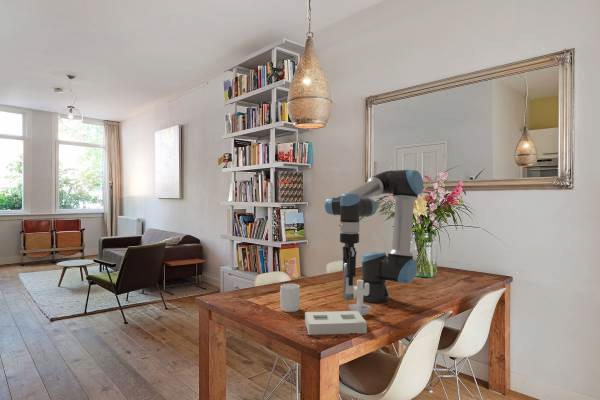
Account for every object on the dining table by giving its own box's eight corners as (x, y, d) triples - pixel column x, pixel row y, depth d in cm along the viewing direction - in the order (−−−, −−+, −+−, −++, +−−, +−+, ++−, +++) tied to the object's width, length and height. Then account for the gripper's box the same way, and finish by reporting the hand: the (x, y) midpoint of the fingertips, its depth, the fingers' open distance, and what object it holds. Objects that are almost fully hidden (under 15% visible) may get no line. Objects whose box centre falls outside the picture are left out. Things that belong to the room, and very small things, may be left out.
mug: (287, 303, 178) (287, 281, 178) (303, 309, 169) (303, 286, 168) (272, 306, 173) (272, 283, 172) (287, 313, 163) (288, 289, 163)
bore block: (357, 320, 155) (357, 310, 155) (366, 333, 142) (366, 322, 141) (304, 321, 153) (305, 312, 153) (309, 334, 139) (309, 324, 139)
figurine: (357, 309, 170) (357, 276, 169) (373, 315, 162) (374, 280, 162) (346, 312, 165) (346, 279, 165) (362, 318, 158) (362, 283, 157)
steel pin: (352, 297, 150) (352, 262, 150) (354, 300, 146) (355, 264, 146) (342, 297, 149) (342, 262, 149) (344, 300, 145) (345, 264, 145)
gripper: (336, 230, 155) (335, 286, 156) (344, 235, 138) (343, 298, 139) (353, 230, 156) (352, 286, 156) (364, 235, 139) (363, 297, 139)
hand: (348, 291), depth 148 cm, fingers closed on steel pin, 4 cm apart
